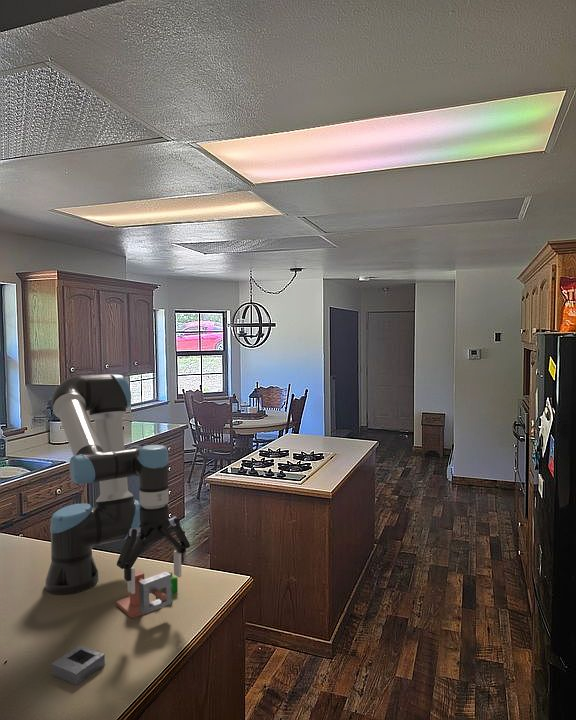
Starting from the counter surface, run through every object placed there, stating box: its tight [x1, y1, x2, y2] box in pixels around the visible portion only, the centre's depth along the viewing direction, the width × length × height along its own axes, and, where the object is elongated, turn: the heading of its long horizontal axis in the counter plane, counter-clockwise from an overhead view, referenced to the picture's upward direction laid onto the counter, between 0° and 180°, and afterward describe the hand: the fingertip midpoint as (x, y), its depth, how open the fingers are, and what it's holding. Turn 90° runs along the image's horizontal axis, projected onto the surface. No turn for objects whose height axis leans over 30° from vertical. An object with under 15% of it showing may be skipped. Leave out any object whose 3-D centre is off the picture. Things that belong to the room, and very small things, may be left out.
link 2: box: [139, 571, 173, 615], centre depth 138 cm, size 2×8×8 cm, turn 133°
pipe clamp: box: [155, 572, 179, 600], centre depth 152 cm, size 11×4×5 cm, turn 174°
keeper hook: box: [115, 569, 167, 619], centre depth 142 cm, size 20×8×10 cm, turn 43°
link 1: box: [50, 644, 106, 686], centre depth 118 cm, size 8×8×2 cm
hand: (155, 583), depth 138 cm, fingers open, 13 cm apart
